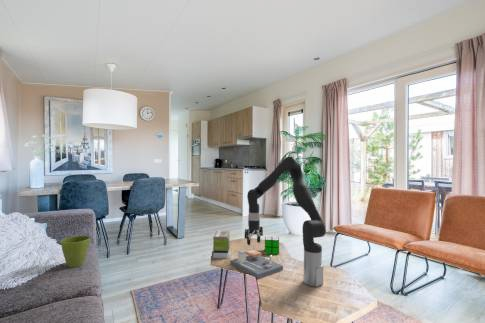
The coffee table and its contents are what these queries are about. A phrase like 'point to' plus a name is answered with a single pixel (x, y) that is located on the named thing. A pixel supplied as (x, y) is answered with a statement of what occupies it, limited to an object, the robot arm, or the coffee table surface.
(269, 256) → the toggle lever
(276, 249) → the puzzle cube
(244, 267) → the control board
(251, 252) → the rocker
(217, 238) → the tea box
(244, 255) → the slider knob
